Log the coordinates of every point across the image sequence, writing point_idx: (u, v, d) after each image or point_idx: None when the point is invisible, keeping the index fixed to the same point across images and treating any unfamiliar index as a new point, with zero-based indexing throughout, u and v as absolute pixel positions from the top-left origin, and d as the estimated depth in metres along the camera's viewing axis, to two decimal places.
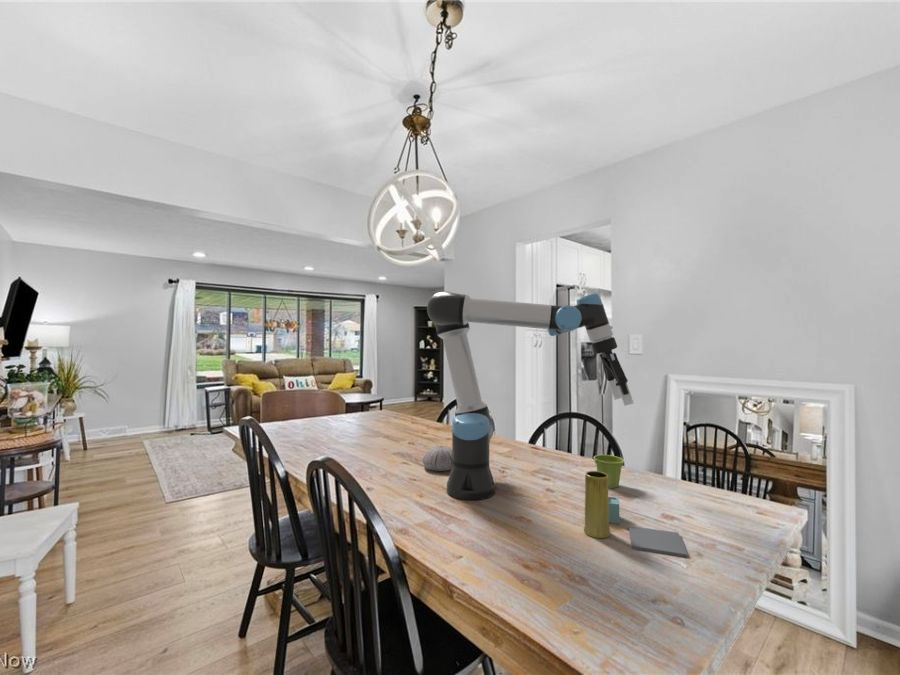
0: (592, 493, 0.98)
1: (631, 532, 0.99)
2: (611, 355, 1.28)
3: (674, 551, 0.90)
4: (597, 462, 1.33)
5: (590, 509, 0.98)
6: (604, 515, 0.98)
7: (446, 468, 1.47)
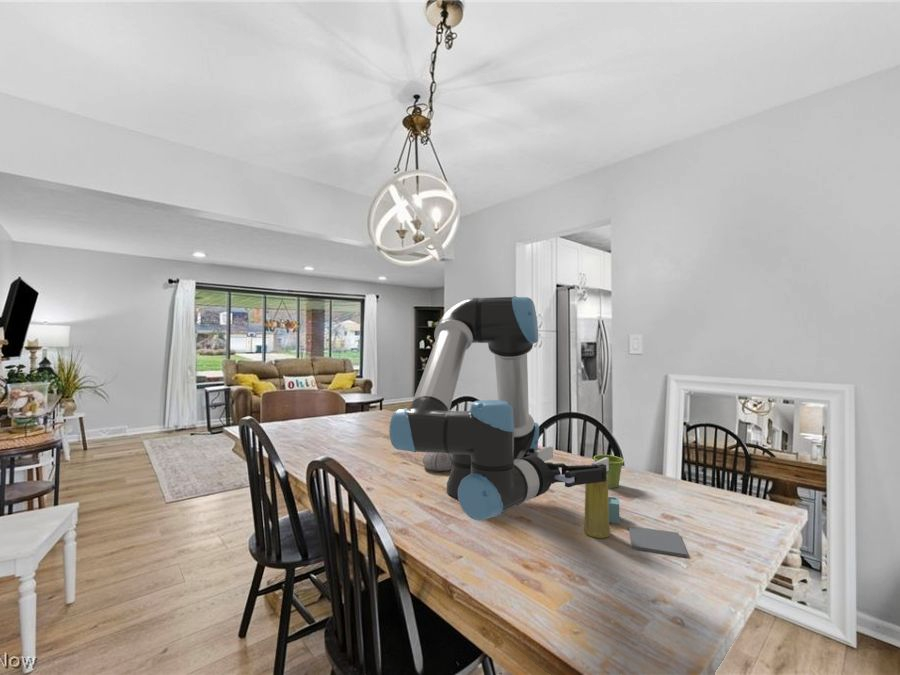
0: (592, 493, 0.98)
1: (631, 532, 0.99)
2: None
3: (674, 551, 0.90)
4: None
5: (590, 509, 0.98)
6: (604, 515, 0.98)
7: (446, 468, 1.47)
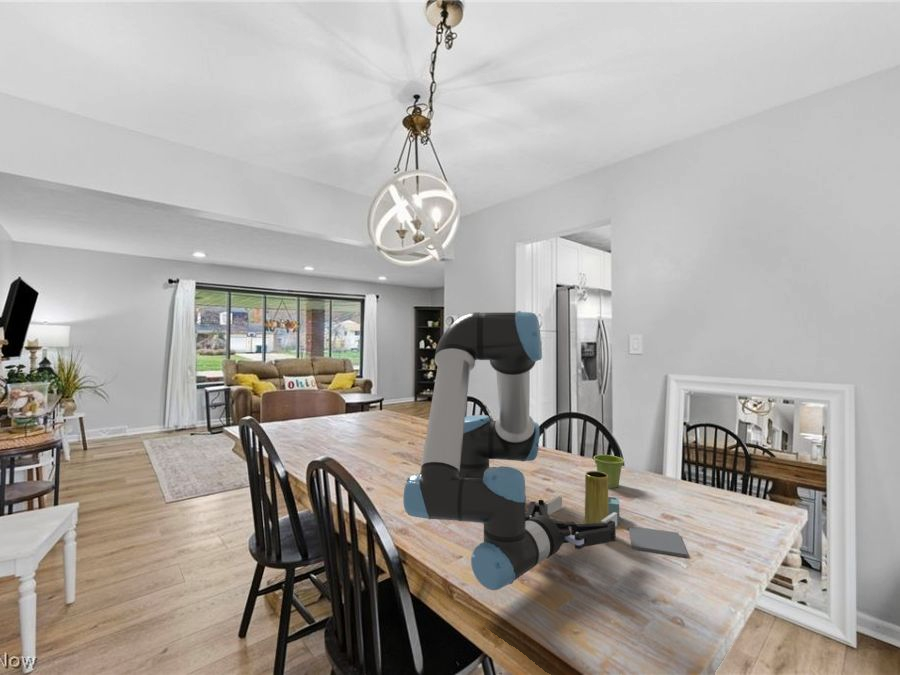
0: (592, 493, 0.98)
1: (631, 532, 0.99)
2: None
3: (674, 551, 0.90)
4: (597, 462, 1.33)
5: (590, 509, 0.98)
6: (604, 515, 0.98)
7: None
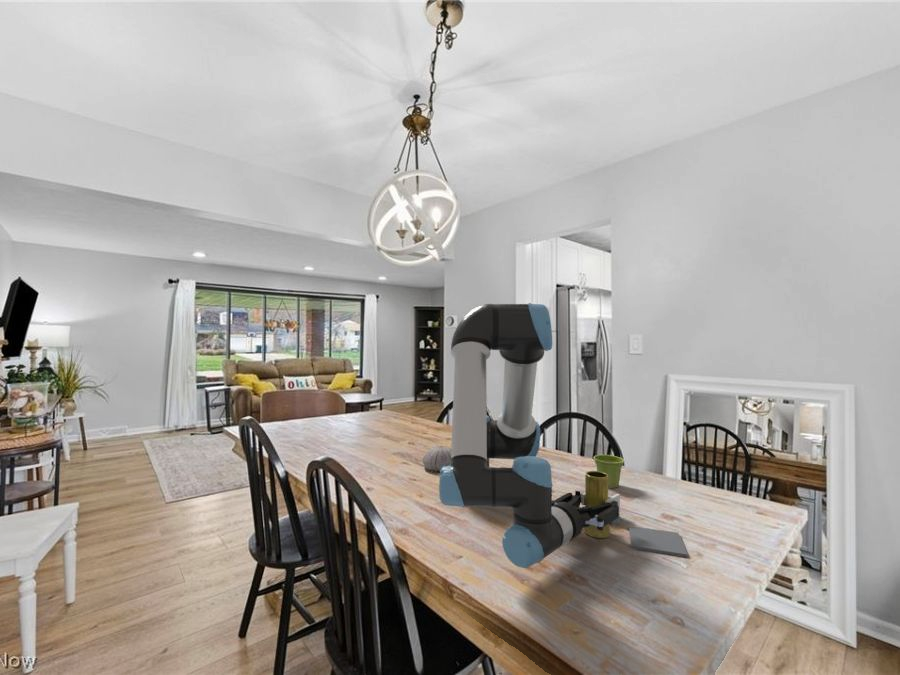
0: (592, 493, 0.98)
1: (631, 532, 0.99)
2: None
3: (674, 551, 0.90)
4: (597, 462, 1.33)
5: None
6: None
7: None
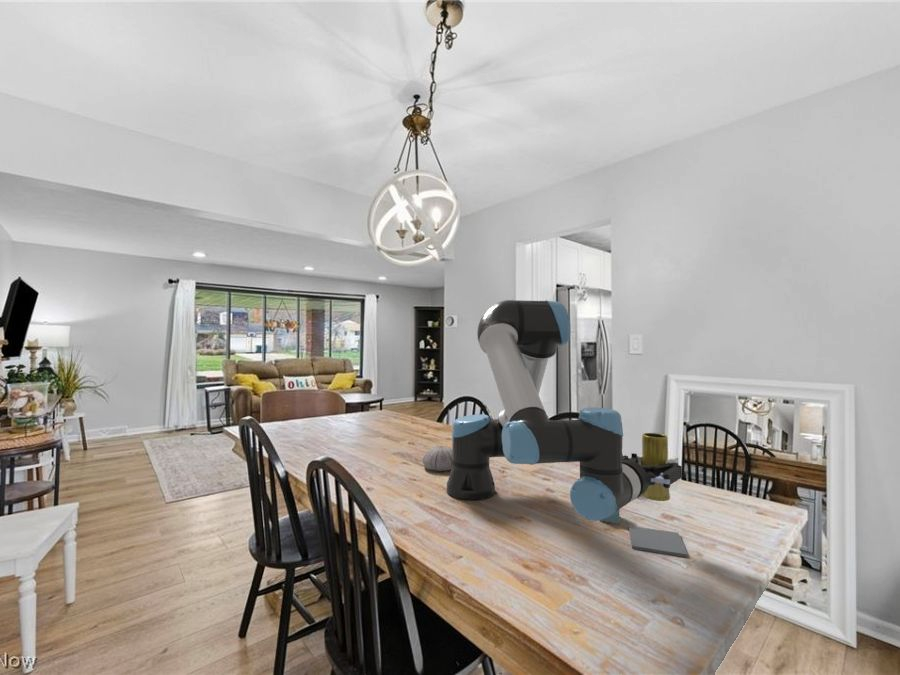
0: (651, 454, 0.94)
1: (631, 532, 0.99)
2: None
3: (674, 551, 0.90)
4: None
5: None
6: None
7: (446, 468, 1.47)
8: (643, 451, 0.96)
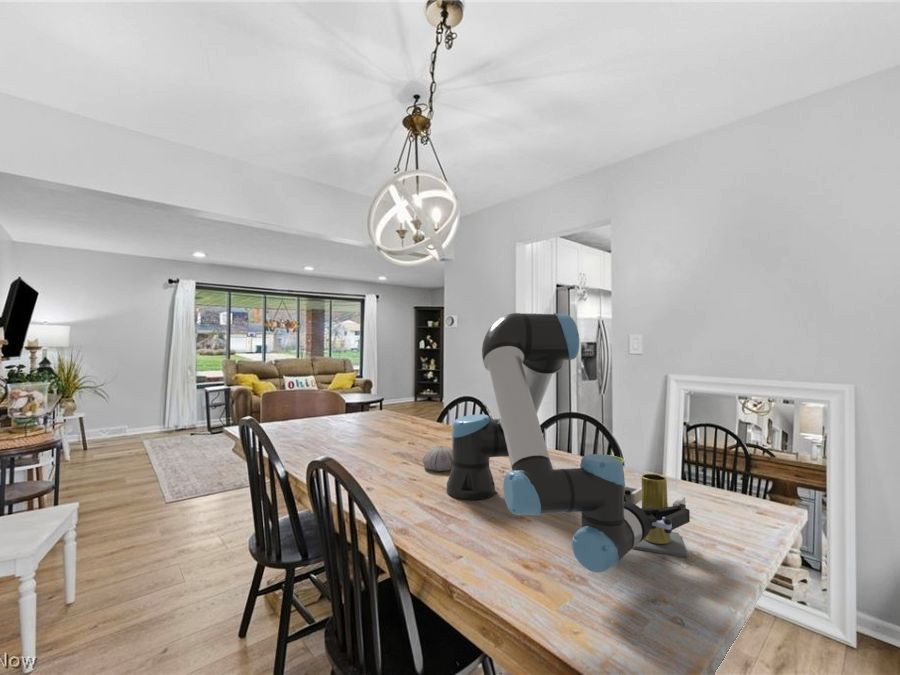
0: (650, 496, 0.94)
1: None
2: None
3: (674, 551, 0.90)
4: None
5: None
6: None
7: (446, 468, 1.47)
8: (643, 493, 0.96)
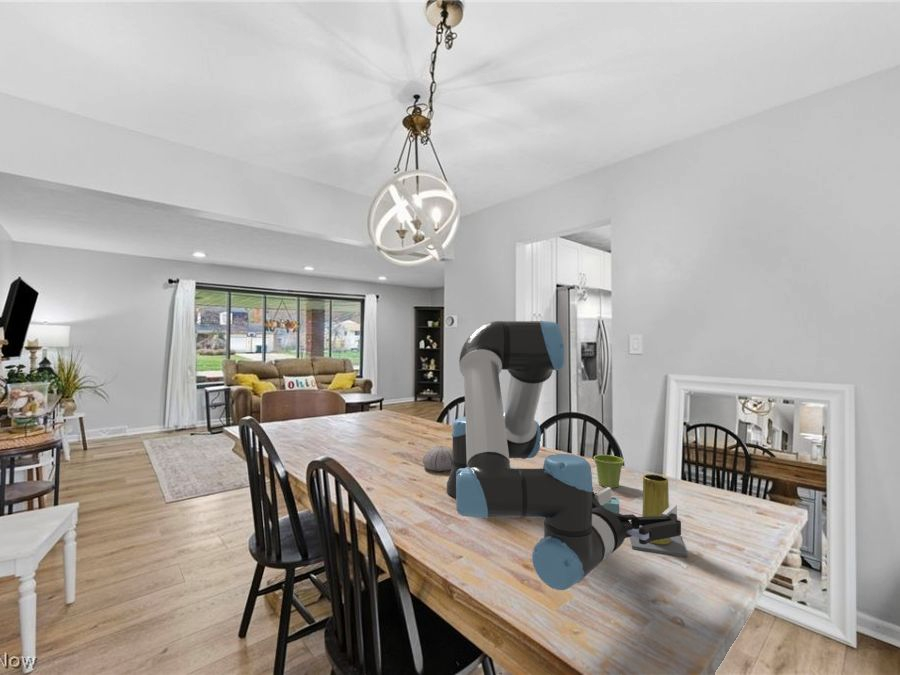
0: (651, 497, 0.94)
1: None
2: None
3: (674, 551, 0.90)
4: (597, 462, 1.33)
5: (650, 514, 0.94)
6: None
7: (446, 468, 1.47)
8: (644, 493, 0.96)
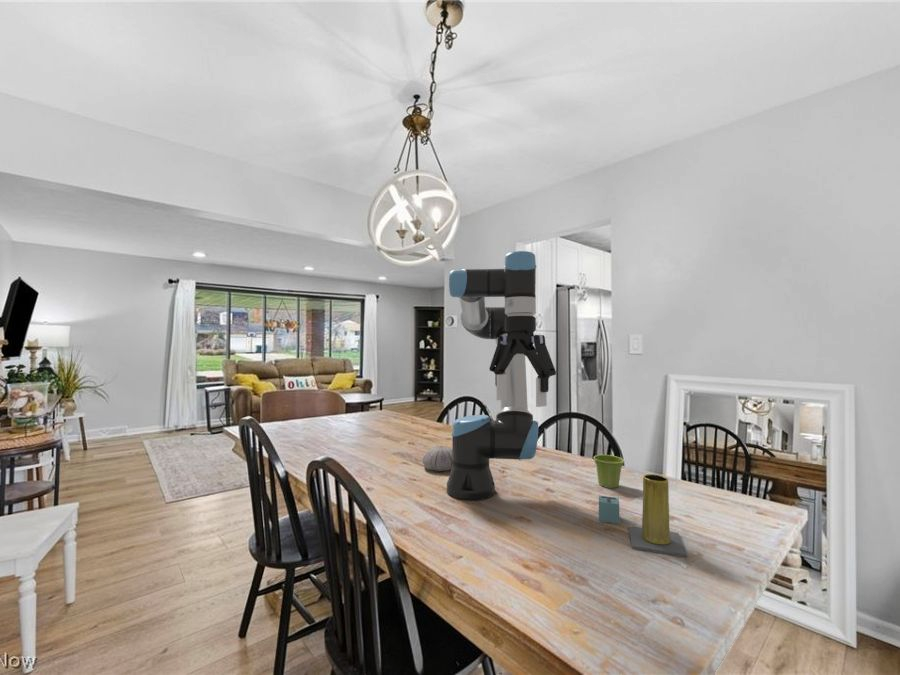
0: (651, 497, 0.94)
1: (631, 532, 0.99)
2: None
3: (674, 551, 0.90)
4: (597, 462, 1.33)
5: (650, 514, 0.94)
6: (665, 521, 0.93)
7: (446, 468, 1.47)
8: (644, 493, 0.96)
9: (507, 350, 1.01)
